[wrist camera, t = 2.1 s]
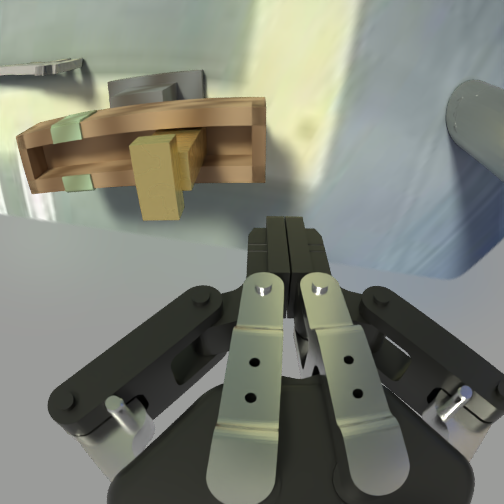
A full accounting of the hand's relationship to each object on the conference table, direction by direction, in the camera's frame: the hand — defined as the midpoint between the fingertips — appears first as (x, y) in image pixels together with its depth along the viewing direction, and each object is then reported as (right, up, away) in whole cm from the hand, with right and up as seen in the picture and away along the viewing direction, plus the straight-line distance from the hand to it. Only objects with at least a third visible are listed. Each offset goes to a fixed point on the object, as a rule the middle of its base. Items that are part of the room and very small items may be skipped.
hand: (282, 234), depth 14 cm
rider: (-7, +8, +11) cm, 15 cm away
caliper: (-29, +22, +12) cm, 38 cm away
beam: (-11, +13, +17) cm, 24 cm away
